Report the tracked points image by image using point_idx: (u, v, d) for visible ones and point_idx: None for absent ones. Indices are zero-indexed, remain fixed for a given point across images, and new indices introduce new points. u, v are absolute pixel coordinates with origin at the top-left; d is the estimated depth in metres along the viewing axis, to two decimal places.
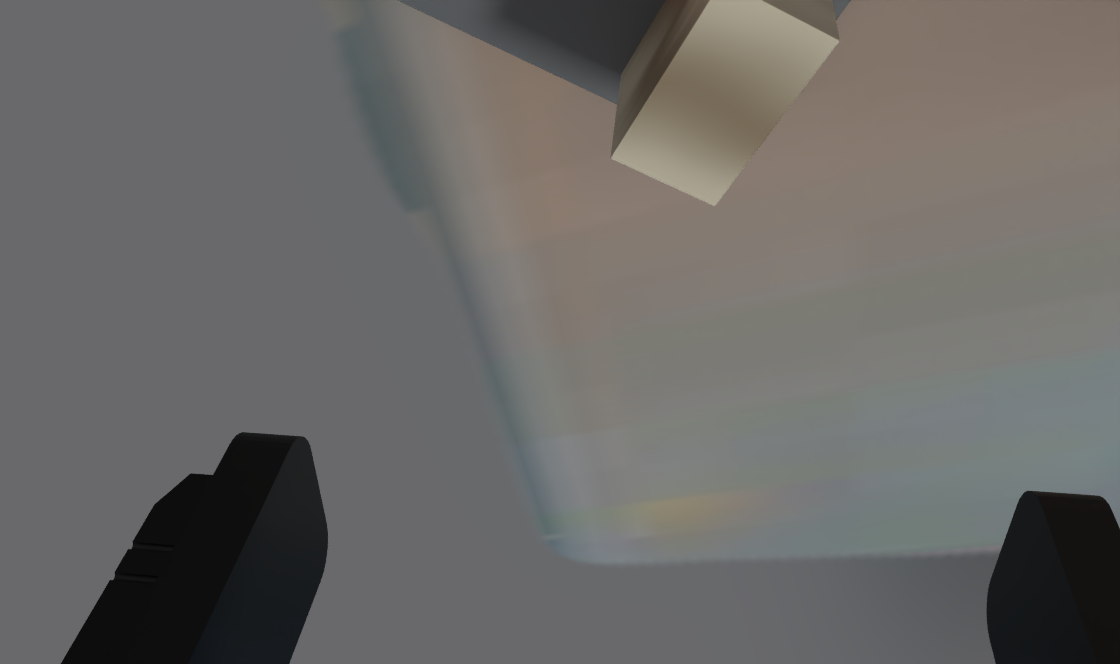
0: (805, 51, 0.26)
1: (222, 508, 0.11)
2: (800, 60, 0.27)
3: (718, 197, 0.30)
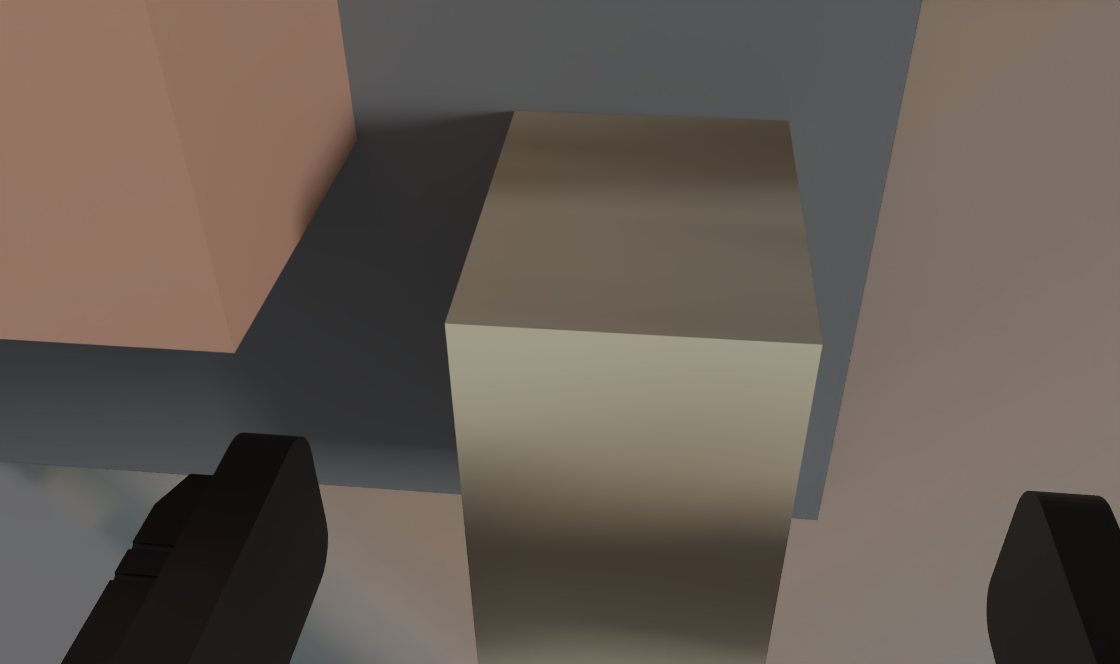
0: (751, 396, 0.10)
1: (222, 508, 0.11)
2: (751, 418, 0.10)
3: None
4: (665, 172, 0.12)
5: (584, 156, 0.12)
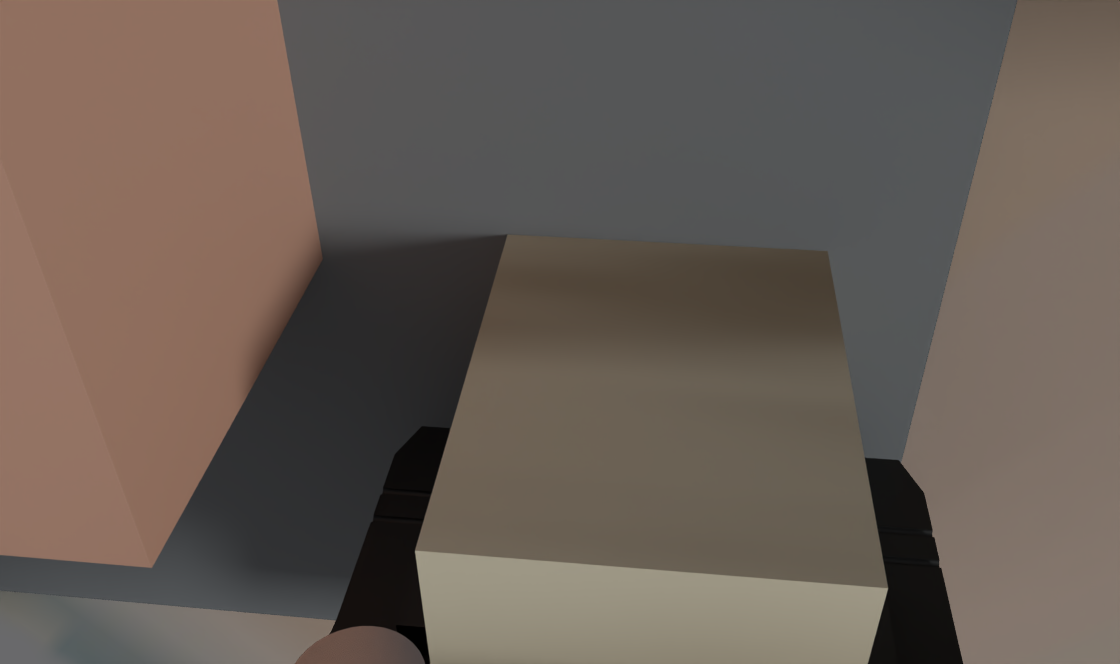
0: (795, 640, 0.08)
1: None
2: (795, 661, 0.08)
3: None
4: (685, 324, 0.10)
5: (589, 299, 0.10)
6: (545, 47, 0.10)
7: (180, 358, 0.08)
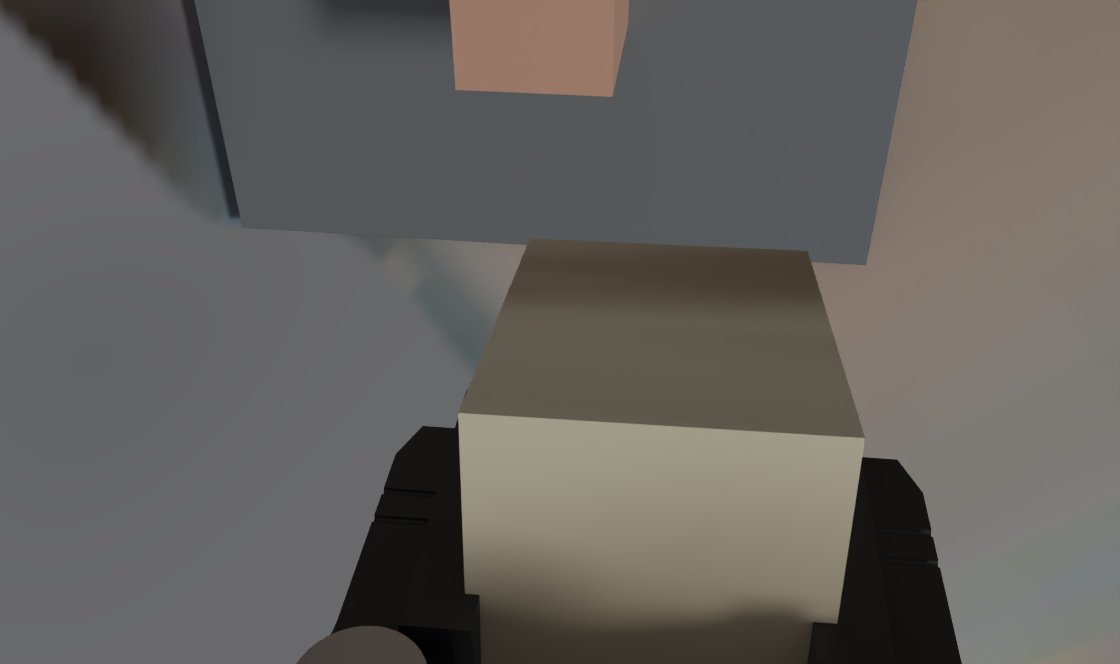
0: (789, 499, 0.09)
1: None
2: (788, 526, 0.09)
3: None
4: (685, 290, 0.11)
5: (601, 275, 0.12)
6: None
7: (618, 24, 0.22)
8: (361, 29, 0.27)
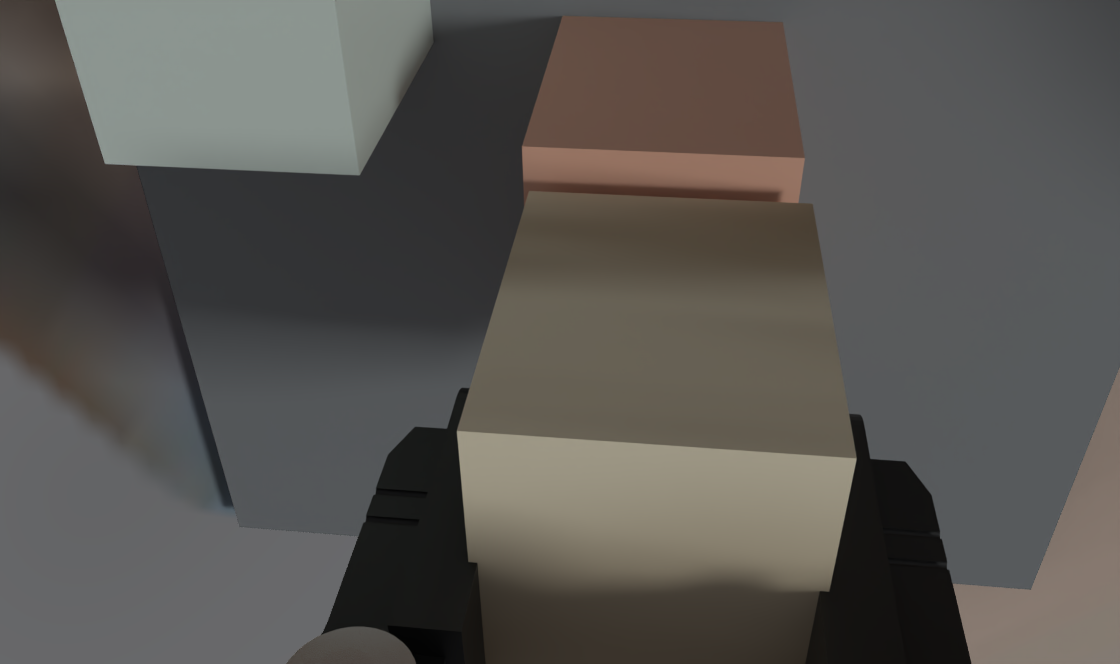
0: (781, 508, 0.09)
1: None
2: (780, 531, 0.09)
3: None
4: (686, 261, 0.11)
5: (601, 241, 0.12)
6: (912, 224, 0.18)
7: None
8: (392, 329, 0.20)
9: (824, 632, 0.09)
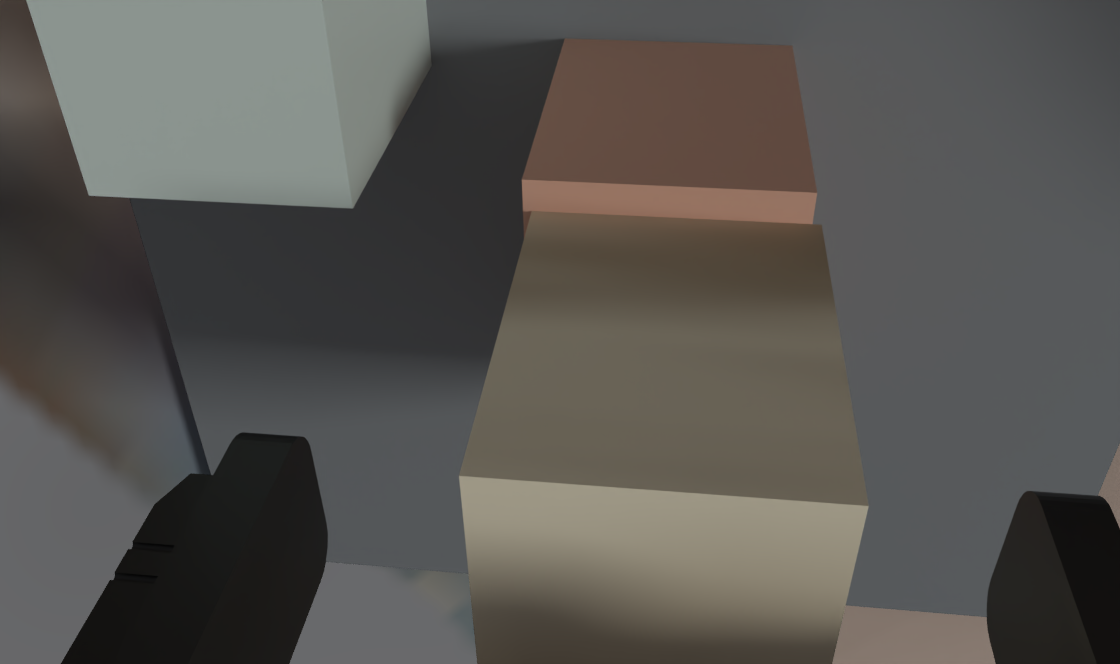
0: (790, 554, 0.09)
1: (222, 508, 0.11)
2: (789, 575, 0.09)
3: None
4: (693, 288, 0.11)
5: (606, 267, 0.11)
6: (925, 251, 0.17)
7: None
8: (389, 356, 0.20)
9: None
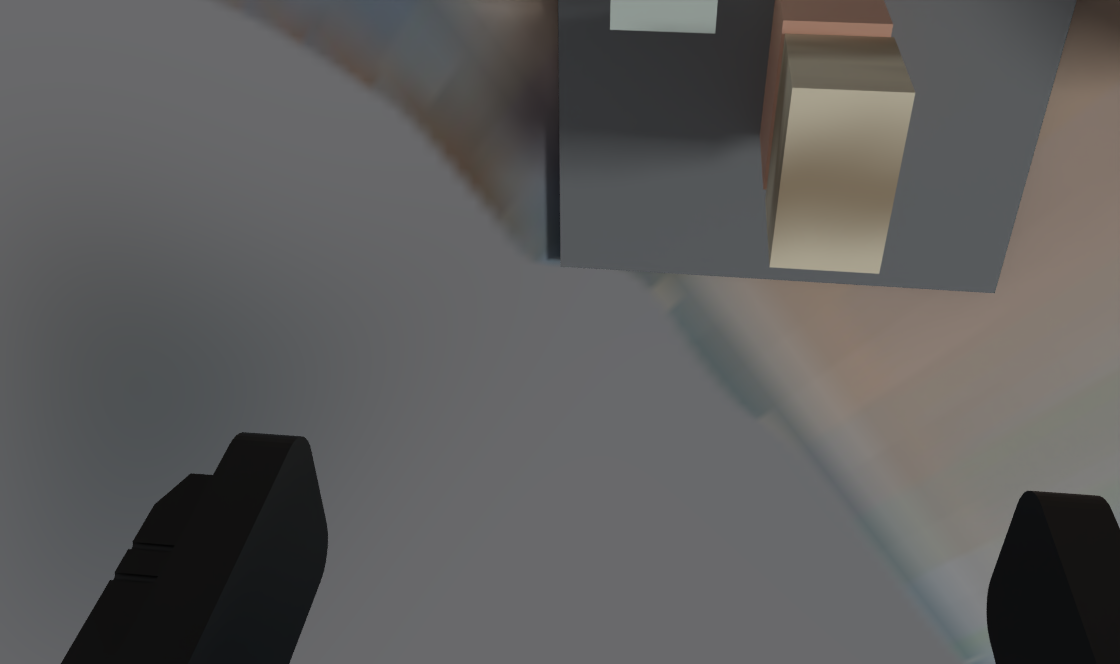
0: (891, 113, 0.30)
1: (222, 508, 0.11)
2: (890, 122, 0.30)
3: (878, 264, 0.32)
4: (851, 52, 0.32)
5: (818, 47, 0.32)
6: (933, 78, 0.38)
7: None
8: (669, 140, 0.41)
9: None
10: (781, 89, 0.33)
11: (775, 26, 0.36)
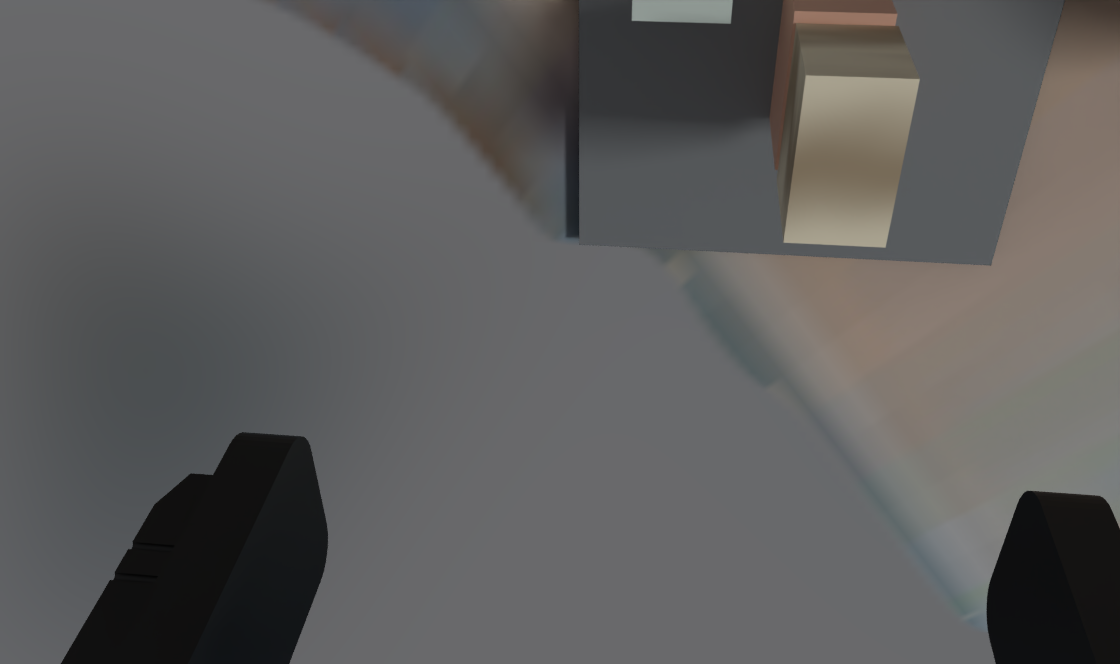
0: (897, 98, 0.32)
1: (222, 508, 0.11)
2: (896, 106, 0.32)
3: (885, 239, 0.35)
4: (859, 40, 0.34)
5: (828, 36, 0.34)
6: (933, 62, 0.40)
7: None
8: (684, 123, 0.43)
9: None
10: (793, 75, 0.35)
11: (785, 15, 0.38)
